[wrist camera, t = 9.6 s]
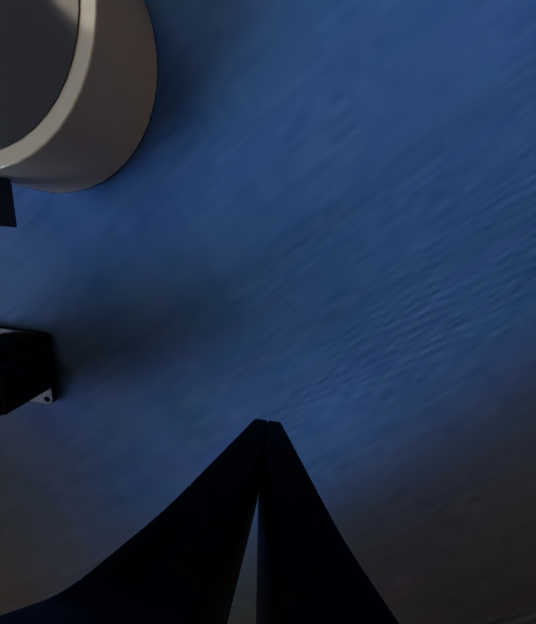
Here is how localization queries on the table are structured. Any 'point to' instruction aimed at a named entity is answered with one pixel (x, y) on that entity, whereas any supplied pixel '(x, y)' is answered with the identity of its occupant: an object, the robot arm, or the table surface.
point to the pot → (71, 92)
